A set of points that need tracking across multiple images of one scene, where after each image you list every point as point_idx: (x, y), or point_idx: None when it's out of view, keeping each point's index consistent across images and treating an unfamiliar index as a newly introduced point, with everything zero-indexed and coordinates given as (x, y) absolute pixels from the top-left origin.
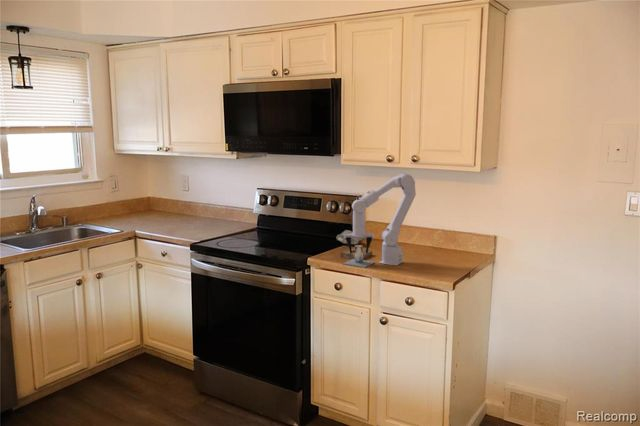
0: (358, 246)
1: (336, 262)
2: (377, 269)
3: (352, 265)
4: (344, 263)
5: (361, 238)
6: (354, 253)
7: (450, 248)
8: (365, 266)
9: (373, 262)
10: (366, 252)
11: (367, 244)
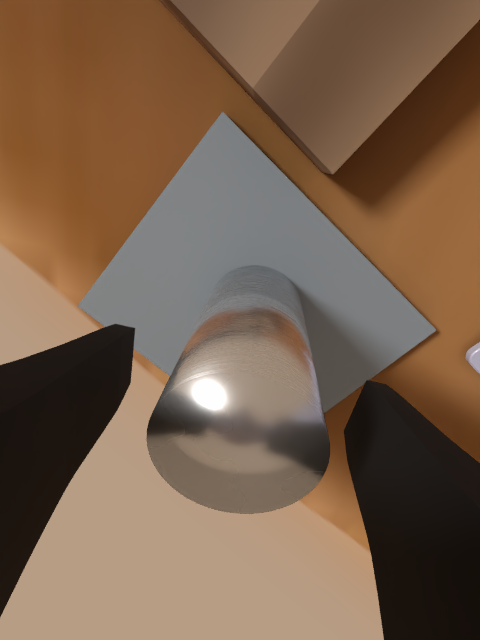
0: (224, 472)
1: (11, 201)
2: (355, 498)
3: (172, 371)
4: (93, 317)
5: None
6: None
7: None
8: None
9: (410, 348)
10: (349, 443)
11: (397, 618)
